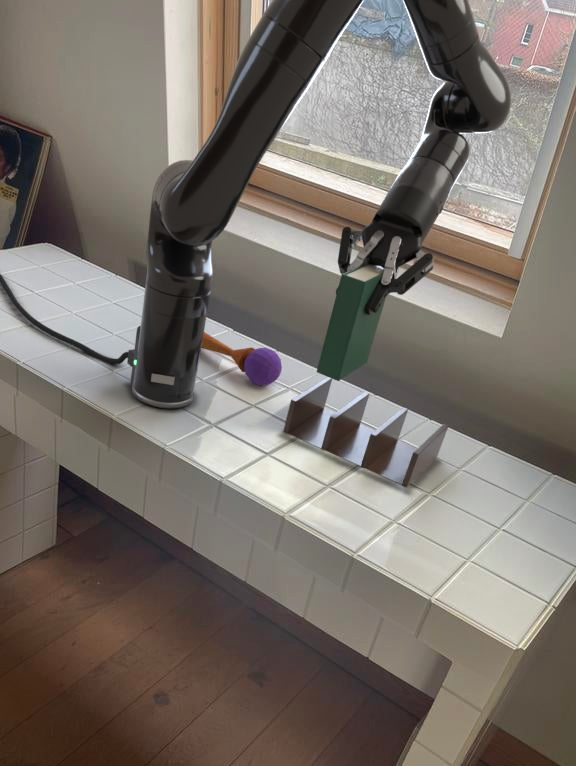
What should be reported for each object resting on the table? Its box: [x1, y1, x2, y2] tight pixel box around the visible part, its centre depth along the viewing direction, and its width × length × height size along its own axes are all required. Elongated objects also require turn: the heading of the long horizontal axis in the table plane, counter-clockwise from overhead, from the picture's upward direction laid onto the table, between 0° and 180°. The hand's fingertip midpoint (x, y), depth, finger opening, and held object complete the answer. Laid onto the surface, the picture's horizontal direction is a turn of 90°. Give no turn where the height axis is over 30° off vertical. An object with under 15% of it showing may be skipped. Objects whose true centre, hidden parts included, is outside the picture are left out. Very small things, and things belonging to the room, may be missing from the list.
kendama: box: [201, 331, 283, 386], centre depth 136 cm, size 6×6×20 cm
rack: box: [283, 376, 449, 488], centre depth 119 cm, size 20×12×6 cm, turn 55°
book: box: [316, 262, 387, 382], centre depth 113 cm, size 4×10×14 cm, turn 145°
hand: (353, 306), depth 110 cm, fingers closed on book, 3 cm apart
